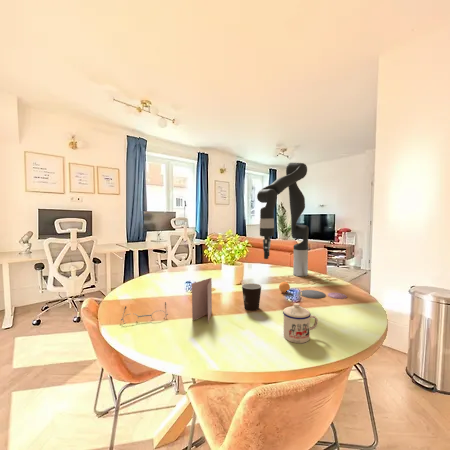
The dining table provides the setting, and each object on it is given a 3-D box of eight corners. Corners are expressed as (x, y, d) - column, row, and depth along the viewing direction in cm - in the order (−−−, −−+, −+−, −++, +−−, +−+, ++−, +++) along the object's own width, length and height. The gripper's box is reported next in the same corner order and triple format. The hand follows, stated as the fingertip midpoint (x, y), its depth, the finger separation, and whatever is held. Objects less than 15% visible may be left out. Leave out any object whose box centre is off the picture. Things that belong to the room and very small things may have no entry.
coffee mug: (260, 312, 111) (260, 289, 110) (240, 311, 112) (240, 288, 112) (262, 302, 122) (262, 282, 121) (244, 301, 124) (244, 281, 123)
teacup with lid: (287, 344, 84) (288, 309, 83) (279, 331, 93) (279, 299, 92) (323, 342, 85) (323, 308, 84) (311, 330, 94) (312, 298, 93)
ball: (279, 290, 140) (279, 280, 140) (289, 291, 139) (289, 280, 139) (278, 293, 135) (278, 283, 135) (289, 294, 134) (289, 283, 133)
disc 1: (298, 289, 142) (298, 289, 142) (323, 291, 139) (323, 290, 139) (299, 297, 129) (299, 297, 129) (327, 299, 126) (327, 298, 126)
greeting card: (210, 311, 112) (209, 277, 111) (223, 315, 107) (223, 280, 107) (190, 320, 103) (190, 283, 102) (204, 325, 99) (203, 286, 98)
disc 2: (326, 292, 136) (326, 292, 136) (344, 293, 134) (344, 293, 134) (329, 298, 128) (329, 297, 128) (348, 299, 125) (348, 299, 125)
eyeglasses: (120, 325, 100) (120, 315, 100) (125, 309, 119) (125, 300, 119) (168, 319, 105) (167, 310, 105) (165, 304, 123) (165, 296, 123)
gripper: (273, 228, 129) (273, 260, 130) (274, 226, 143) (274, 255, 144) (258, 227, 131) (258, 259, 132) (261, 226, 145) (260, 255, 146)
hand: (266, 257), depth 138 cm, fingers open, 8 cm apart
